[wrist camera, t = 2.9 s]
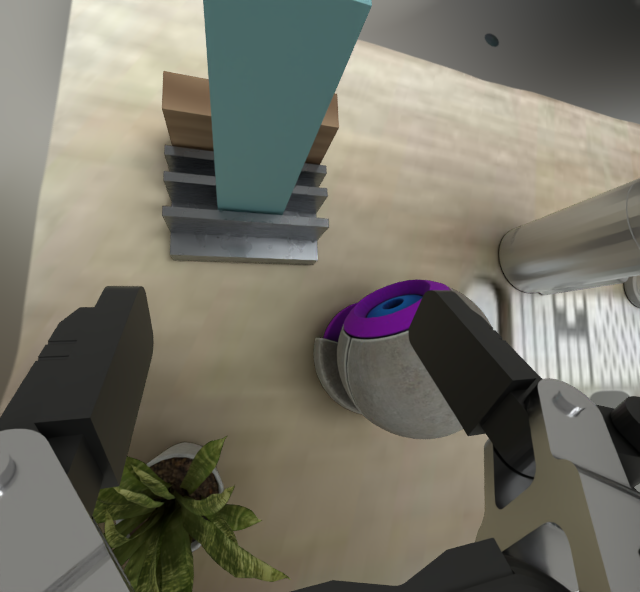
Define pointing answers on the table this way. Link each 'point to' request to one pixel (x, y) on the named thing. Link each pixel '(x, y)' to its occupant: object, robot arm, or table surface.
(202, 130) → the offcut stack
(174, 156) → the rack
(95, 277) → the table surface
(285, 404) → the table surface
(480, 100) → the table surface
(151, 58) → the table surface
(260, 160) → the tall sheet
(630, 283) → the travel mug
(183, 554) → the house plant
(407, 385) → the webcam
